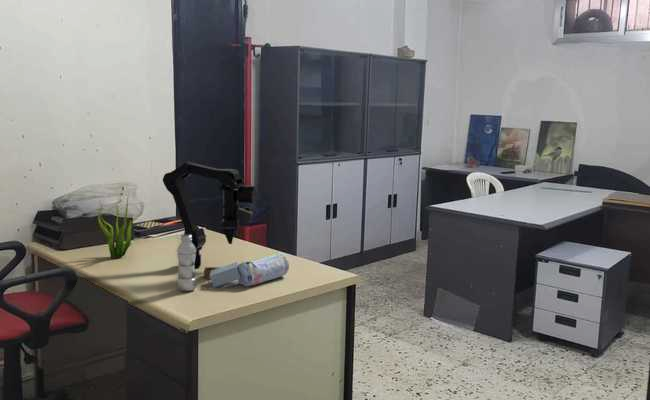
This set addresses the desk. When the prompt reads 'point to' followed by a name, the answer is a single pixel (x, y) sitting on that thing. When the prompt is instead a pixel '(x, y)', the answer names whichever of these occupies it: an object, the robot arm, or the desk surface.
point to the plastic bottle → (186, 264)
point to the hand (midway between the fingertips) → (230, 241)
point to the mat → (226, 285)
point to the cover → (224, 274)
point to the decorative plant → (117, 235)
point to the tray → (208, 271)
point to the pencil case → (262, 269)
